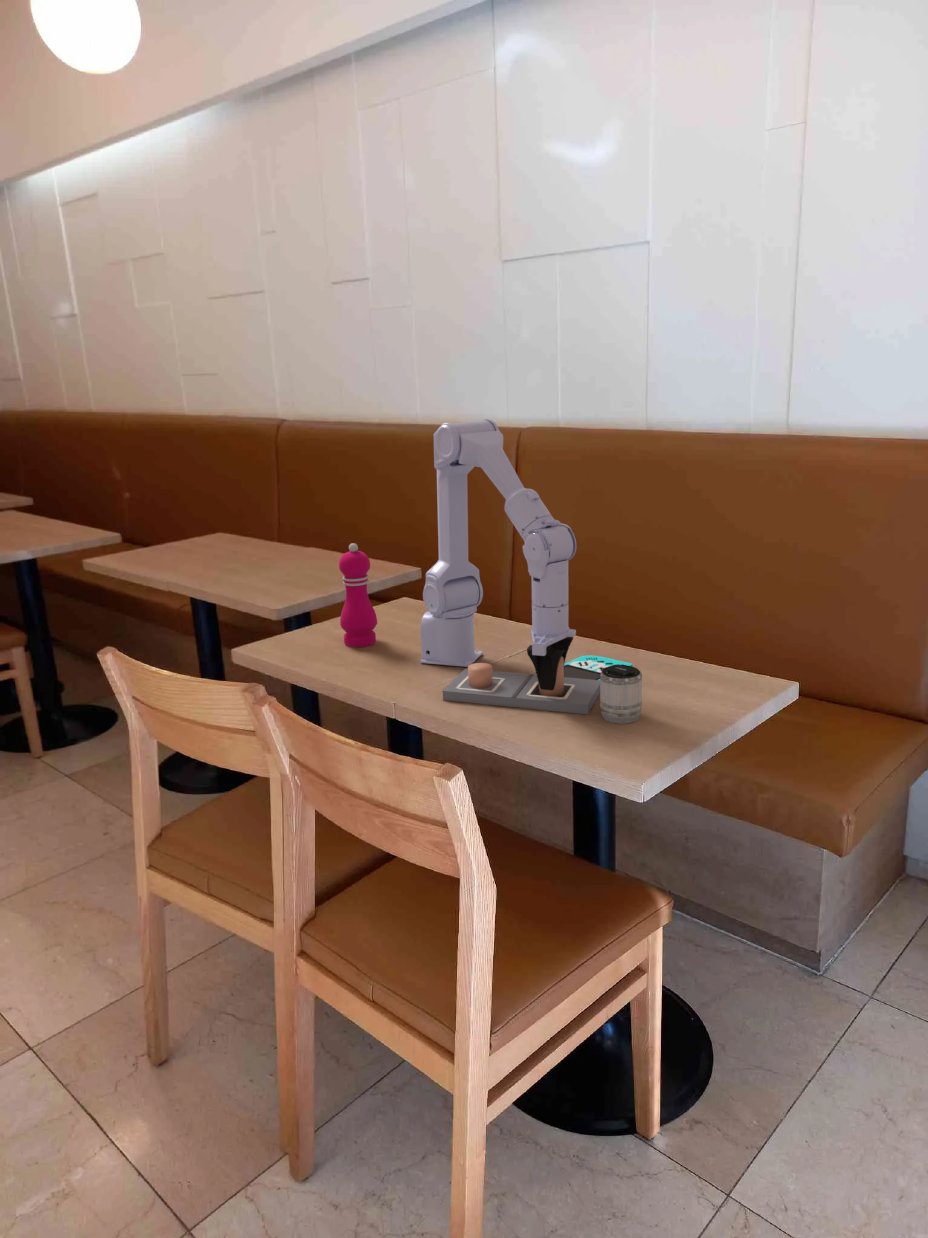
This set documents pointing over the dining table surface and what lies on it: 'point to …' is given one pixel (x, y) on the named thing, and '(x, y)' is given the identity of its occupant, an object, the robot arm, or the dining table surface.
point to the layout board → (519, 690)
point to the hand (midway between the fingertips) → (550, 684)
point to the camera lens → (620, 694)
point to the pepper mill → (357, 600)
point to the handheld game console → (589, 667)
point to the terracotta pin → (559, 683)
